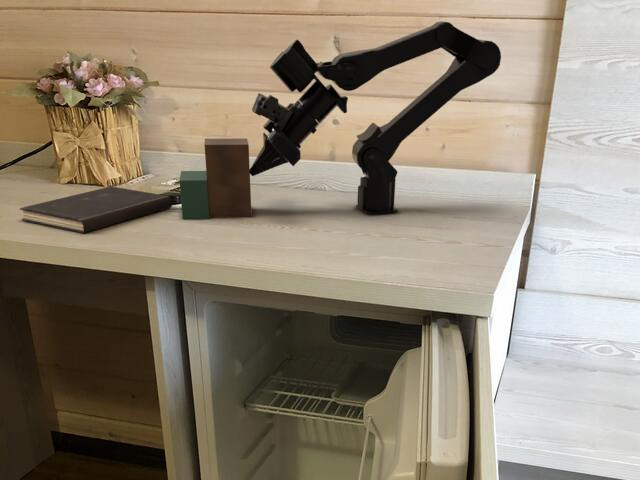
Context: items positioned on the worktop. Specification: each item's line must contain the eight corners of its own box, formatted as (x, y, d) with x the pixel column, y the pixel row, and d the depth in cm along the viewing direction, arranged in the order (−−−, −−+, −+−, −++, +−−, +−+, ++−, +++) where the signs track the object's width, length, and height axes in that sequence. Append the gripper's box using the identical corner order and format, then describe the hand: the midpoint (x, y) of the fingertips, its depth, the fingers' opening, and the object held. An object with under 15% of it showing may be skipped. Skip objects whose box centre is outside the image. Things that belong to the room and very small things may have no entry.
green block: (209, 207, 147) (207, 170, 143) (209, 218, 139) (206, 180, 136) (184, 207, 146) (181, 170, 143) (182, 219, 139) (179, 180, 135)
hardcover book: (22, 220, 135) (19, 207, 134) (112, 197, 152) (111, 186, 151) (84, 233, 128) (82, 220, 127) (172, 208, 146) (171, 196, 144)
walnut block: (250, 208, 147) (247, 138, 140) (251, 216, 141) (248, 144, 134) (209, 208, 146) (204, 138, 139) (209, 217, 140) (204, 144, 133)
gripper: (274, 72, 140) (218, 134, 145) (281, 81, 125) (219, 150, 129) (314, 118, 146) (259, 176, 150) (326, 132, 130) (264, 196, 134)
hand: (250, 174), depth 140 cm, fingers closed, pressing on walnut block
